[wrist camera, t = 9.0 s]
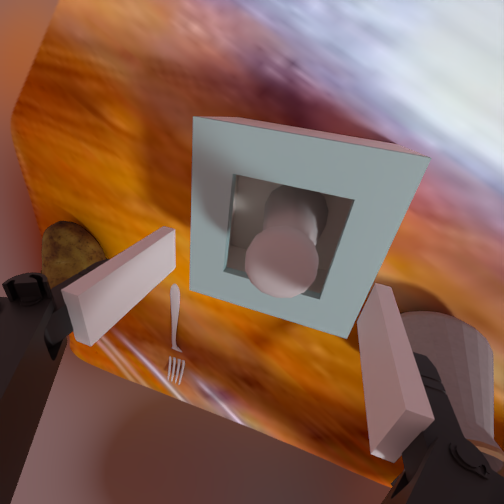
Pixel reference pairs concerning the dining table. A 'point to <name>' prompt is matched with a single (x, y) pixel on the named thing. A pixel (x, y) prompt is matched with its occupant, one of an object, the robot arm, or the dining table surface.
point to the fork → (175, 312)
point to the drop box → (306, 177)
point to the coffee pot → (460, 375)
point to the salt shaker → (287, 242)
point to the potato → (67, 251)
